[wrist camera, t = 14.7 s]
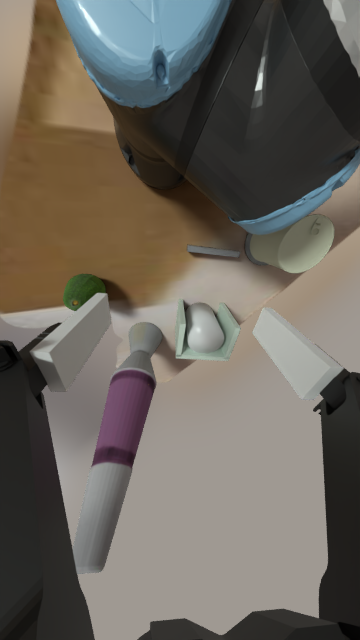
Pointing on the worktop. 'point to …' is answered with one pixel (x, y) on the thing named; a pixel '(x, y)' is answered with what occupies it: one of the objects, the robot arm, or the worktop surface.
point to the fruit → (82, 290)
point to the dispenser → (205, 324)
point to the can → (295, 244)
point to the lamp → (116, 449)
